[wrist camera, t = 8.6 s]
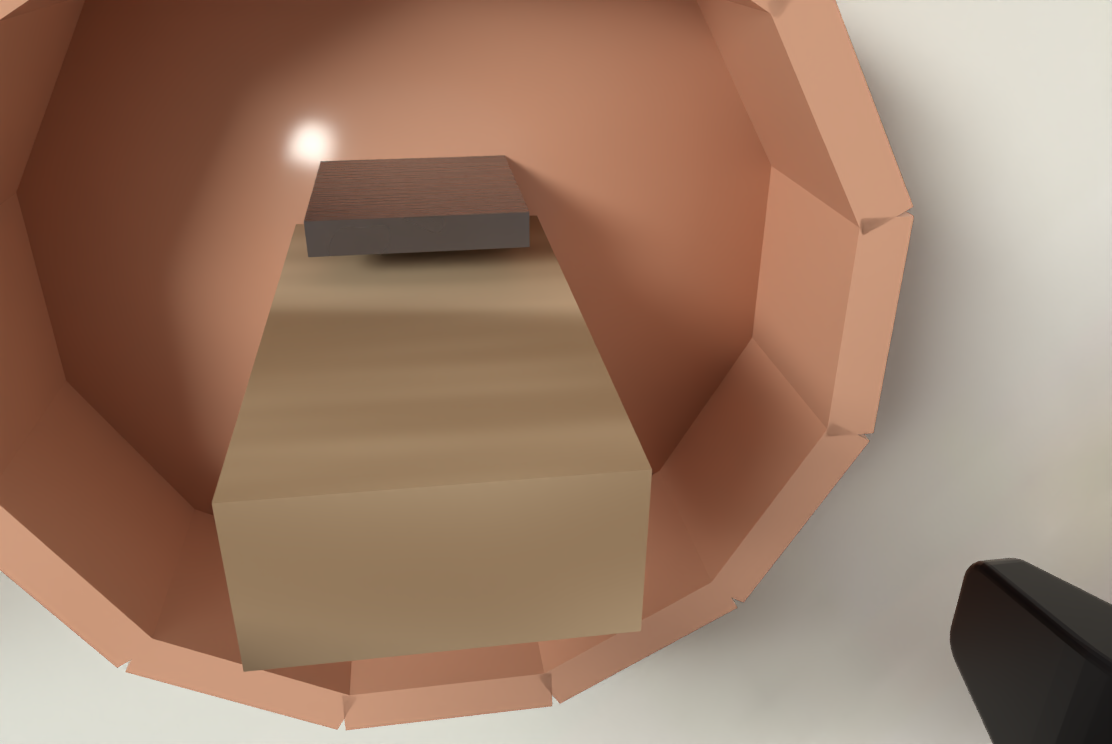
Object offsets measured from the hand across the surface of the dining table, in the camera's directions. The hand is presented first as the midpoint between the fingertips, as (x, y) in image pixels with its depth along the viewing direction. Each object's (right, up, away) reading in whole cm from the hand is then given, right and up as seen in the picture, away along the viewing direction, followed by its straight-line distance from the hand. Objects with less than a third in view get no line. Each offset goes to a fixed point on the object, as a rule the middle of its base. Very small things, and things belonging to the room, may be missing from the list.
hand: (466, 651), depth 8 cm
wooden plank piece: (-2, +4, +8) cm, 9 cm away
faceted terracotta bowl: (-2, +4, +9) cm, 10 cm away
